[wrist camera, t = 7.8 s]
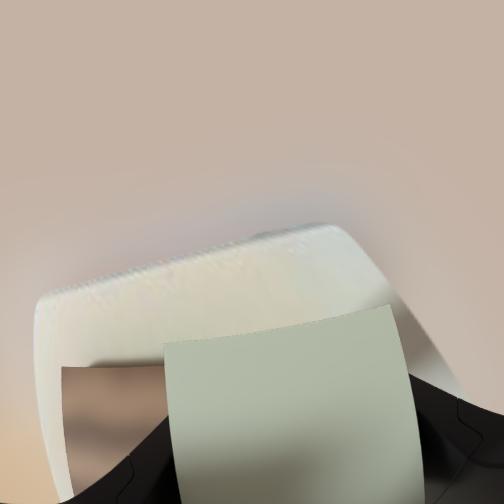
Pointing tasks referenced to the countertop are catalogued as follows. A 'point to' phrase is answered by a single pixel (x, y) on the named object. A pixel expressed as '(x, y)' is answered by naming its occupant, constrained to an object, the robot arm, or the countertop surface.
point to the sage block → (296, 415)
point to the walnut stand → (108, 416)
